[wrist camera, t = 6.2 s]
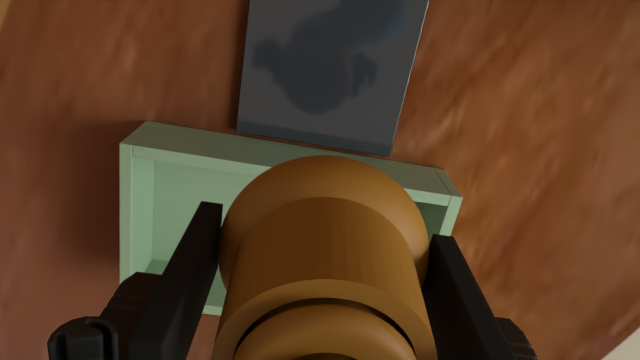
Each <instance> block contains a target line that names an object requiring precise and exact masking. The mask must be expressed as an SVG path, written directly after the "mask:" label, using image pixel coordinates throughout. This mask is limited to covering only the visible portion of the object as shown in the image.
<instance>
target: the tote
mask: <svg viewBox="0 0 640 360" xmlns="http://www.w3.org/2000/svg"><path fill="white" fill-rule="evenodd" d="M315 155H332V156H341V157H347V158H351V159H355V160H358V161H361V162H364V163H366V164H369V165H371V166H373V167H375V168H377V169H379V170H381V171H382V172H384V173H385V174H387V175H388V176H390V177H391V178H392V179H394V180H395V181H396V182H397V183H398V184H399V185H400V186H401V187H402V188H403V189H404V190H405V191H406V192H407V193H408V194H409V196H410V197H411V198H412V200H413V201H414V203H415V204H416V206H417V208H418V209H419V211H420V213H421V216H422V218H423V220H424V223H425V226H426V230H427V234H428V240H429V244H430V241H431V238H432V235H433V234H439V235H446V236H450V234H451V231H452V228H453V225H454V223H455V220H456V217H457V214H458V211H459V208H460V205H461V202H462V199H463V197H462V196H461V194H460V193H459V191H458V190H457V188H456V187H455V186H454V184H453V183H452V181H451V180H450V178H449V177H448V175H447V174H446V173H445V171H444V169H439V168H433V167H427V166H421V165H415V164H409V163H403V162H396V161H390V160H384V159H378V158H372V157H366V156H360V155H354V154H347V153H341V152H335V151H329V150H323V149H317V148H311V147H305V146H299V145H292V144H286V143H280V142H274V141H268V140H262V139H256V138H250V137H243V136H237V135H231V134H225V133H219V132H213V131H207V130H201V129H195V128H188V127H182V126H176V125H170V124H164V123H158V122H152V121H145V122H144V123H143V124H142V125H141V126H140V127H138V128H137V129H136V130H135V131H134V132H132V133H131V134H130V135H129V136H128V137H126V138H125V139H124V140H123V141H121V142H120V143H119V239H120V284H121V283H122V281H124V280H125V279H127V278H128V277H129V276H131V275H132V274H134V273H135V272H145V273H153V274H160V275H162V273H163V272H164V270H165V268H166V266H167V264H168V262H169V260H170V258H171V257H172V255H173V253H174V251H175V249H176V247H177V245H178V244H179V242H180V240H181V238H182V236H183V234H184V232H185V230H186V229H187V227H188V225H189V223H190V221H191V219H192V217H193V216H194V214H195V212H196V210H197V208H198V206H199V204H200V202H201V201H206V202H213V203H220V204H223V212H222V223H223V220H224V218H225V216H226V213H227V211H228V210H229V208H230V206H231V204H232V203H233V201H234V200H235V198H236V197H237V196H238V194H239V193H240V192H241V191H242V190H243V189H244V188H245V187H246V186H247V185H248V184H249V183H250V182H251V181H252V180H253V179H255V178H256V177H257V176H259V175H260V174H262V173H263V172H265V171H266V170H268V169H270V168H272V167H274V166H276V165H279V164H281V163H283V162H286V161H289V160H292V159H296V158H301V157H306V156H315ZM221 226H222V224H221ZM226 292H227V291H226V289H225V287H224V284H223V281H222V278H221V275H220V271H219V265H218V269H217V272H216V275H215V278H214V281H213V284H212V286H211V289H210V292H209V295H208V298H207V301H206V303H205V306H204V309H203V312H202V313H204V314H212V315H220V316H221V313H222V309H223V305H224V301H225V296H226Z"/></svg>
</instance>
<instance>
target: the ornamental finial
mask: <svg viewBox="0 0 640 360" xmlns="http://www.w3.org/2000/svg"><path fill="white" fill-rule="evenodd" d="M218 265H219V271H220V275H221V278H222V281H223V284H224V287H225V289H226V291H227V292H226V296H225V301H224V305H223V309H222V313H221V317H220V322H219V326H218V330H217V334H216V339H215V343H214V347H213V353H212V360H438V357H437V350H436V346H435V342H434V338H433V334H432V330H431V326H430V323H429V319H428V315H427V311H426V307H425V303H424V299H423V295H422V292H421V289H422V287H423V284H424V281H425V278H426V275H427V271H428V265H429V240H428V234H427V230H426V226H425V223H424V220H423V218H422V216H421V213H420V211H419V209H418V208H417V206H416V204H415V203H414V201H413V200H412V198H411V197H410V196H409V194H408V193H407V192H406V191H405V190H404V189H403V188H402V187H401V186H400V185H399V184H398V183H397V182H396V181H395V180H394V179H392V178H391V177H390V176H388V175H387V174H385V173H384V172H382V171H381V170H379V169H377V168H375V167H373V166H371V165H369V164H366V163H364V162H361V161H358V160H355V159H351V158H347V157H341V156H332V155H315V156H306V157H301V158H296V159H292V160H289V161H286V162H283V163H281V164H279V165H276V166H274V167H272V168H270V169H268V170H266V171H265V172H263V173H262V174H260V175H259V176H257V177H256V178H255V179H253V180H252V181H251V182H250V183H249V184H248V185H247V186H246V187H245V188H244V189H243V190H242V191H241V192H240V193H239V194H238V196H237V197H236V198H235V200H234V201H233V203H232V204H231V206H230V208H229V210H228V211H227V213H226V216H225V218H224V220H223V223H222V226H221V230H220V234H219V240H218Z"/></svg>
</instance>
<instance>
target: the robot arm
mask: <svg viewBox="0 0 640 360" xmlns="http://www.w3.org/2000/svg"><path fill="white" fill-rule="evenodd" d="M222 212H223V204H220V203H213V202H206V201H201V202H200V204H199V206H198V208H197V210H196V212H195V214H194V216H193V217H192V219H191V221H190V223H189V225H188V227H187V229H186V230H185V232H184V234H183V236H182V238H181V240H180V242H179V244H178V245H177V247H176V249H175V251H174V253H173V255H172V257H171V258H170V260H169V262H168V264H167V266H166V268H165V270H164V272H163V273H162V275H160V274H153V273H145V272H135V273H134V274H132V275H131V276H129V277H128V278H127V279H125V280H124V281H122V283H121V284H120V286H119V287H118V289H117V290H116V292H115V293H114V296H113V297H112V298H111V299H110V301H109V302H108V304H107V307H105V309H104V310H103V312H102V313H101V315H100V316H99V317H82V318H77V319H73V320H71V321H69V322H67V323H65V324H63V325H61V326H60V327H59V328H57V329H56V330H55V331H54V332H53V333H52V334H51V336H50V338H49V340H48V342H47V346H48V355H49V360H186V357H187V354H188V351H189V349H190V346H191V343H192V340H193V337H194V335H195V332H196V329H197V326H198V323H199V320H200V318H201V315H202V312H203V309H204V306H205V303H206V301H207V298H208V295H209V292H210V289H211V286H212V284H213V281H214V278H215V275H216V272H217V269H218V240H219V234H220V230H221V224H222ZM421 292H422V295H423V299H424V303H425V307H426V311H427V315H428V319H429V323H430V326H431V330H432V334H433V338H434V342H435V346H436V350H437V357H438V360H537V355H536V354H535V352H534V350H533V349H532V348H531V345H530V343H529V342H528V340H527V338H526V336H525V335H524V333H523V331H521V330H520V329H519V328H518V327H517V326H516V325H515V324H514V323H513V322H512V321H511V320H510V319H506V318H499V317H494V315H493V313H492V311H491V309H490V307H489V305H488V303H487V301H486V299H485V297H484V295H483V293H482V291H481V289H480V288H479V286H478V284H477V282H476V280H475V278H474V276H473V274H472V272H471V270H470V268H469V266H468V264H467V262H466V260H465V258H464V257H463V255H462V253H461V251H460V249H459V247H458V245H457V243H456V241H455V239H454V237H453V236H446V235H439V234H433V235H432V238H431V241H430V244H429V265H428V271H427V275H426V278H425V281H424V284H423V287H422V289H421Z"/></svg>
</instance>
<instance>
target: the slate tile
mask: <svg viewBox="0 0 640 360" xmlns="http://www.w3.org/2000/svg"><path fill="white" fill-rule="evenodd" d="M428 4H429V0H250V2H249V12H248V21H247V30H246V40H245V49H244V59H243V68H242V77H241V87H240V96H239V105H238V115H237V124H236V131H237V132H242V133H248V134H255V135H261V136H267V137H273V138H279V139H285V140H291V141H297V142H303V143H309V144H316V145H322V146H328V147H334V148H340V149H346V150H352V151H358V152H364V153H370V154H376V155H383V156H390V153H391V149H392V145H393V141H394V137H395V133H396V129H397V125H398V121H399V117H400V114H401V110H402V106H403V102H404V98H405V94H406V90H407V86H408V82H409V78H410V75H411V71H412V67H413V63H414V59H415V55H416V51H417V47H418V43H419V39H420V36H421V32H422V28H423V24H424V20H425V16H426V12H427V8H428Z"/></svg>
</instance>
